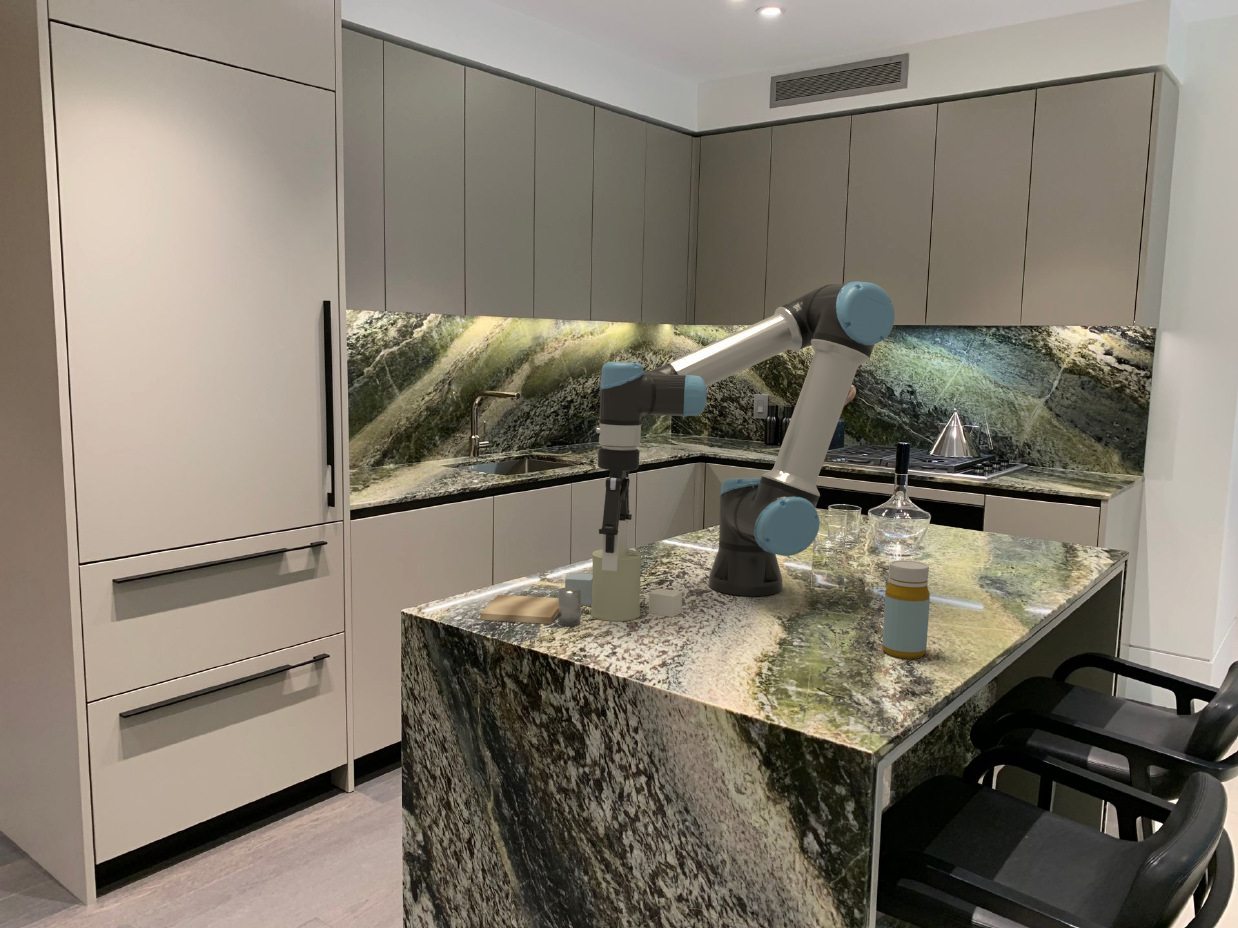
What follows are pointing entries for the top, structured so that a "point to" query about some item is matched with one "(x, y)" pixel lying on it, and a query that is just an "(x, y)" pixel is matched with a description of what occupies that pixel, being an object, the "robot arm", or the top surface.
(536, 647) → the top surface
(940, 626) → the top surface
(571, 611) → the tin
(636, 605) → the can
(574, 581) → the block gray
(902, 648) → the bottle
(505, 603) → the board
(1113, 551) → the top surface
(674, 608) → the block white
